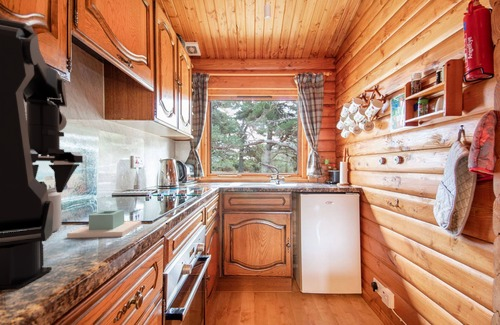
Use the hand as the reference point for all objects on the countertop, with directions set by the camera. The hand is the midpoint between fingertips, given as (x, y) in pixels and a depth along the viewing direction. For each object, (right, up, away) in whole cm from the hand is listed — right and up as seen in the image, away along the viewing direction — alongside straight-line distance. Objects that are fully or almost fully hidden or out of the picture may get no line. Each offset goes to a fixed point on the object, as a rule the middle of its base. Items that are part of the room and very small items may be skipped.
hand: (44, 194), depth 56 cm
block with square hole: (+7, -11, +13) cm, 18 cm away
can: (-11, -13, +14) cm, 22 cm away
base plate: (+7, -12, +13) cm, 19 cm away
